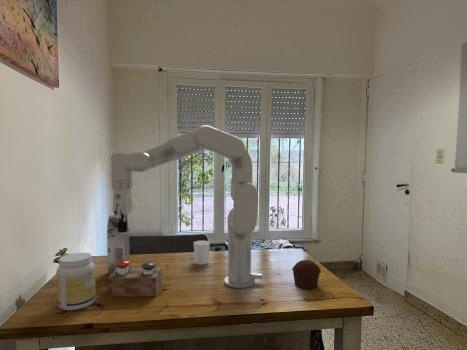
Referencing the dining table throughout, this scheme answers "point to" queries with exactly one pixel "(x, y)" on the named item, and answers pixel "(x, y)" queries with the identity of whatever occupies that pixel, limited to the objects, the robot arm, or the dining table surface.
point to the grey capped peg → (148, 267)
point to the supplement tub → (75, 281)
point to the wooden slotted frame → (134, 283)
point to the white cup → (201, 252)
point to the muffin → (306, 274)
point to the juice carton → (116, 243)
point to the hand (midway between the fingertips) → (122, 231)
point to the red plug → (122, 267)
